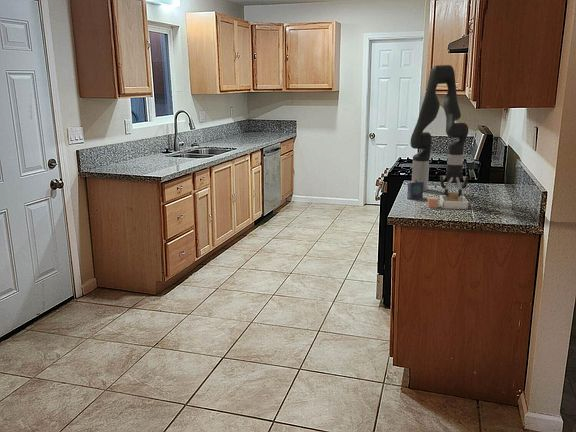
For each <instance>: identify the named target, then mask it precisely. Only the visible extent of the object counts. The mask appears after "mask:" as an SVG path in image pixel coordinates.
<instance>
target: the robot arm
mask: <svg viewBox="0 0 576 432" xmlns="http://www.w3.org/2000/svg"><path fill="white" fill-rule="evenodd" d="M443 84H444V85H446V86H447V92H446V95H445V98H444V101H443V111H444V114H445V118H446V119H445V121H446V122H445V133H446V135H447V137H449V138H451V139H453V138H456V140H454V141H452V142H450V143H449V144H448V151H447V152H448V153H447V154H448V155H447V162H446V174H445V175H440V176H439V181H440V186H441V188H442V189H444V195H446V197H448V192H449V187H450V185H451V184H457V186H458V192H457V193H458V197H460V196H463V195H462V194H463V190H464V189H466V188H467V185H468V182H469V176H464V175H463V169H464V168H463V167H464V147H465V143H466V141H467V138H468V135H469V131H470V130H469V126H468V124H467V123H466V122H455V121H458V120H459V119H461V117H462V113H461V110H460V106H459V102H458V95H457V86H456V84H457V83H456V74H455V70H454V67H453V65H451V64H440V65H438V64H437V65H434V66H432V68H431V69H430V73H429V76H428V81H427V87H426V90H425V94H424V98H423V101H422V104H421V106H420V107H421V108H420V111H419V115H418V118H417V121H416V124H415V127H414V129H413V131H412V134H411V137H410V142H409V143H410V144H409V145H410V147H411V148H412V149H417V150H421V149H422V150H421V151H419V152H418V153H416V154H414V155H413V156H412V170H411V171H412V172H411V182H414V179H415V178H416V179H417V181H422V182H424V183H423V192H426V191H428V188H429V172H430V171H429V170H430V157H431V149H432V140H433V139H432V135H431V133H430V132H428V131H424V130H425V129H426V128H428V127H429V125H430V124H432V122H433V121H434V120H435V119H436V118H437V115H439V114H438V113H439V109H440V105H441V103H440V100H439V98H438V96H437V91H436V90H437V87H438V85H443ZM445 179H446V180H447V181H446V184H444V181H445ZM462 179H463V180H462ZM461 181H463V184H461Z"/></svg>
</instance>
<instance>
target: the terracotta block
mask: <svg viewBox="0 0 576 432" xmlns="http://www.w3.org/2000/svg"><path fill="white" fill-rule="evenodd" d="M438 205H439V198H438V197H437V196H436V197H435V196H434V197H432V196H428V197H427V209H428V208H429V209H439V208H438Z"/></svg>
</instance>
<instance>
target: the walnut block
mask: <svg viewBox="0 0 576 432" xmlns="http://www.w3.org/2000/svg"><path fill="white" fill-rule="evenodd" d="M447 201H458V192H449V191H448V197H447Z"/></svg>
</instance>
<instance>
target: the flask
mask: <svg viewBox="0 0 576 432" xmlns="http://www.w3.org/2000/svg"><path fill="white" fill-rule="evenodd" d="M423 183H424V182H422V181H417V179H416V178H415V179H414V182H412V181H409V182H408V183H407V197H406V198H407V200H417V199H423V196H424V195H423V194H424V191H423Z"/></svg>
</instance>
